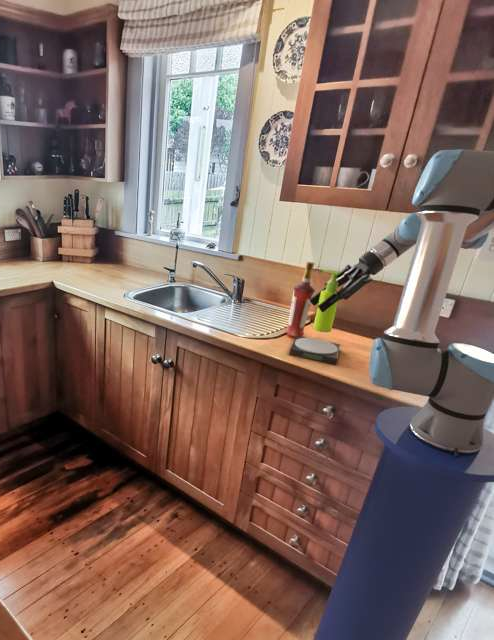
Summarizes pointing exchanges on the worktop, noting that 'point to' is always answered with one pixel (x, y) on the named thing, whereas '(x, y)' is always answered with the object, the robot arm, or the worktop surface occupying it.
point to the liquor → (300, 304)
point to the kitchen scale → (315, 349)
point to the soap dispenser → (327, 317)
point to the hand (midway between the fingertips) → (315, 305)
